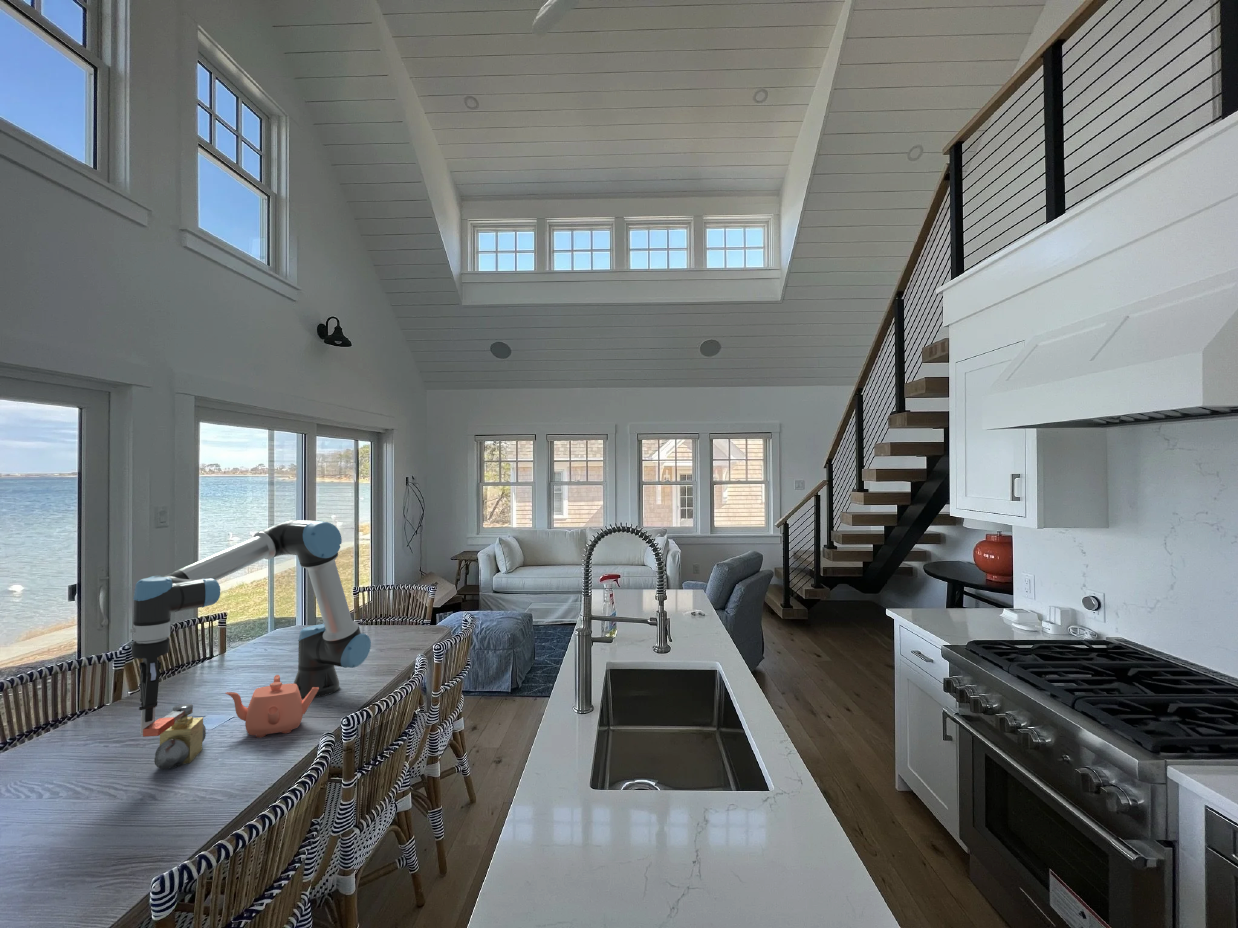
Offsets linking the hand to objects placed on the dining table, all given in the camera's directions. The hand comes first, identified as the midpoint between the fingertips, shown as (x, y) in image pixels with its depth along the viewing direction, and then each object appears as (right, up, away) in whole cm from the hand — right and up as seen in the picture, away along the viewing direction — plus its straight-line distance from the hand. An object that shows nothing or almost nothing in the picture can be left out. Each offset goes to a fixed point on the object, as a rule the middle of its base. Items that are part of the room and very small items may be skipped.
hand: (147, 732), depth 151 cm
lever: (+3, +1, +4) cm, 5 cm away
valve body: (+1, -11, +10) cm, 15 cm away
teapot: (+15, -12, +29) cm, 35 cm away
